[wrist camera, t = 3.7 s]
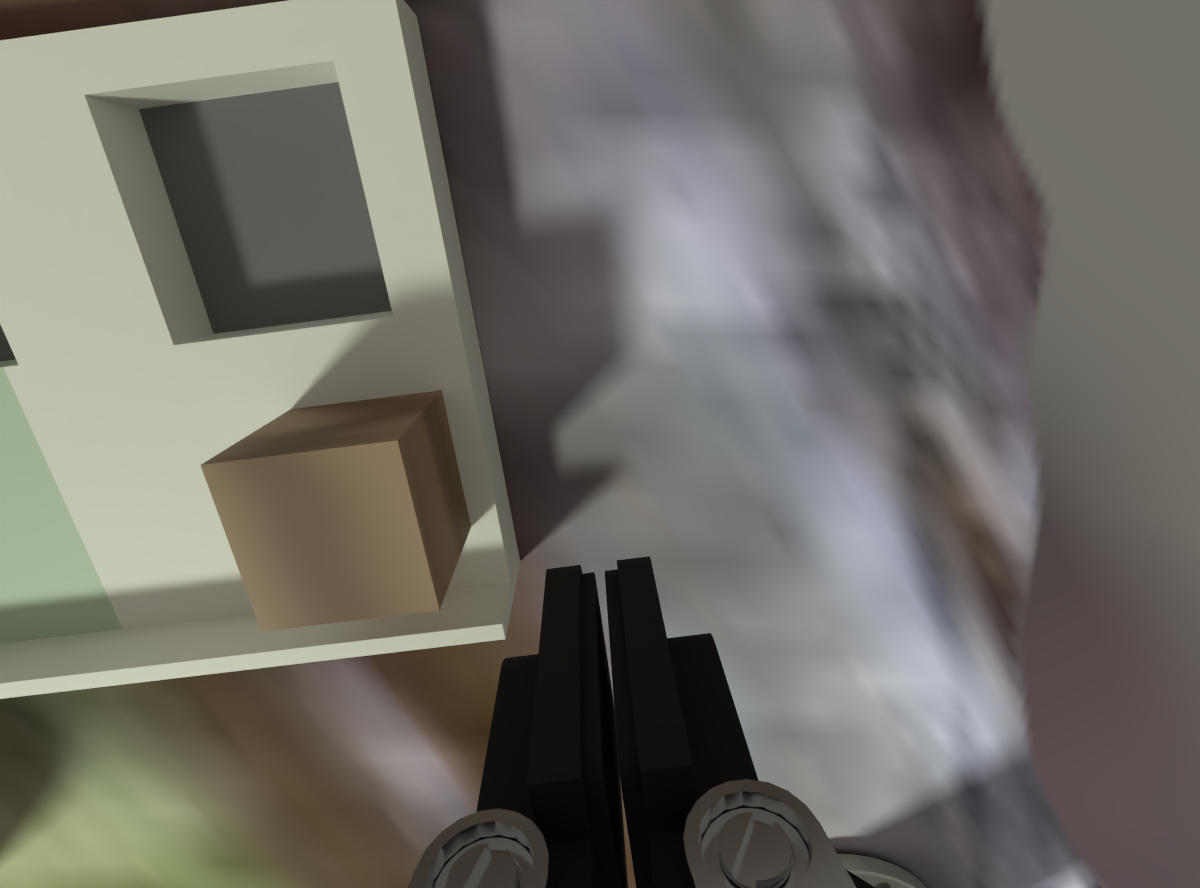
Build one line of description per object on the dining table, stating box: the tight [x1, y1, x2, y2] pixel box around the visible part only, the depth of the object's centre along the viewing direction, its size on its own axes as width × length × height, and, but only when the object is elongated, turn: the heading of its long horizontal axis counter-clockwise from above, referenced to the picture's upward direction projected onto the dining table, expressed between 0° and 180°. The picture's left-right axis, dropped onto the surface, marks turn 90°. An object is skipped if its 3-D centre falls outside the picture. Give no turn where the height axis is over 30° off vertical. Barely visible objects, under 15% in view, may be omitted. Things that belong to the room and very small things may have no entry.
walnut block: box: [201, 390, 471, 632], centre depth 19 cm, size 5×5×5 cm
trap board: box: [0, 0, 520, 699], centre depth 20 cm, size 23×19×5 cm
